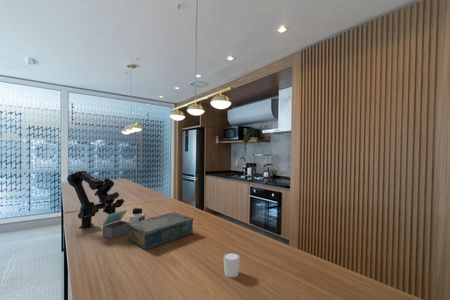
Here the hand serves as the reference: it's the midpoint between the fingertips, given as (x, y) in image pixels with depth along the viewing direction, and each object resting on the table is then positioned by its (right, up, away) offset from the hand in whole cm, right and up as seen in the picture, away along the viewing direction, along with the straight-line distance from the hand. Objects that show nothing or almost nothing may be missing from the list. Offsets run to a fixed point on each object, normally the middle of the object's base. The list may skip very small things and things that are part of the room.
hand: (114, 216), depth 132 cm
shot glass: (+70, -10, -43) cm, 83 cm away
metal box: (+30, -11, -4) cm, 32 cm away
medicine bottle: (+8, -11, +15) cm, 20 cm away
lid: (0, -1, 0) cm, 1 cm away
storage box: (+2, -10, -1) cm, 11 cm away
